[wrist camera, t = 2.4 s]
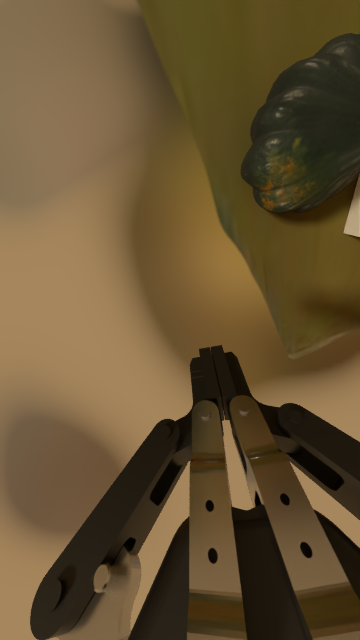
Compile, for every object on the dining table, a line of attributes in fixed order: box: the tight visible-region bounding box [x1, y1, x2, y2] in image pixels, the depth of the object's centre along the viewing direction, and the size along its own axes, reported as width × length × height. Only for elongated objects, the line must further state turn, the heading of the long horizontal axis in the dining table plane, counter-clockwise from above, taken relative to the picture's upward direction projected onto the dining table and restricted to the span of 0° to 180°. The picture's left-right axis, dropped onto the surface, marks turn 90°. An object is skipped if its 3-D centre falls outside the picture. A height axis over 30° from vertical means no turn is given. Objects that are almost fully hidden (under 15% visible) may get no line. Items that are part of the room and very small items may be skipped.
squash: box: [241, 33, 360, 213], centre depth 23 cm, size 14×15×15 cm
